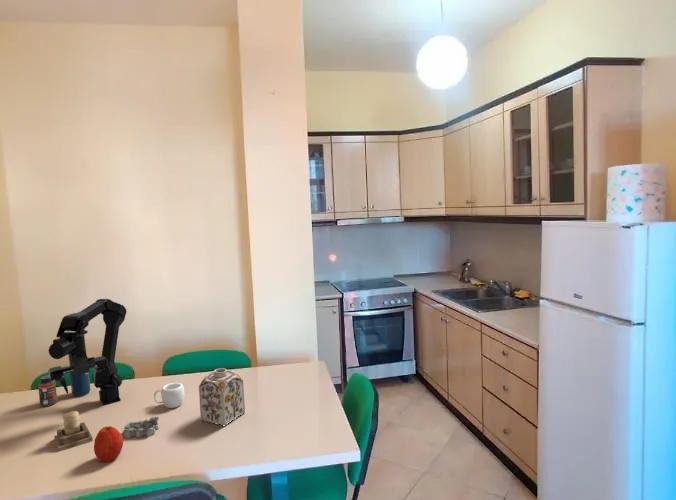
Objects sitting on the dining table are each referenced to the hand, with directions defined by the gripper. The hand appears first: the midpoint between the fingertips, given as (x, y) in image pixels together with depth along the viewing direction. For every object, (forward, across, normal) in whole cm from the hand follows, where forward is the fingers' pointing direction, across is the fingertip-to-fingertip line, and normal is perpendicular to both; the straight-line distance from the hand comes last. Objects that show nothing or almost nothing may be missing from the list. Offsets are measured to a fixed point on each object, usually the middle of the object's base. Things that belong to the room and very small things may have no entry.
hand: (81, 389), depth 171 cm
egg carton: (+12, +13, -25) cm, 31 cm away
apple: (+11, +1, -36) cm, 37 cm away
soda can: (+12, +3, +27) cm, 30 cm away
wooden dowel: (+10, -6, -14) cm, 19 cm away
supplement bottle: (+12, -9, +26) cm, 30 cm away
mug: (+12, +28, -10) cm, 32 cm away
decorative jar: (+12, +40, -34) cm, 54 cm away
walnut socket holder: (+11, -6, -14) cm, 19 cm away
